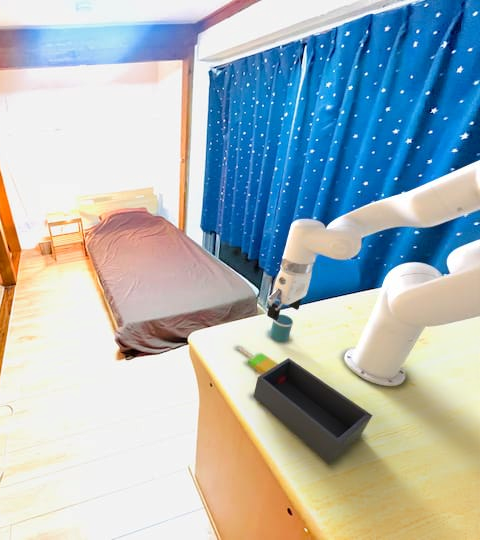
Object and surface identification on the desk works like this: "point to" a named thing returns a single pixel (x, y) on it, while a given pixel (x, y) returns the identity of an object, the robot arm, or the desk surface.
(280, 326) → the paper cup
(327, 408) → the bin
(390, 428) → the desk surface
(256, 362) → the popsicle
